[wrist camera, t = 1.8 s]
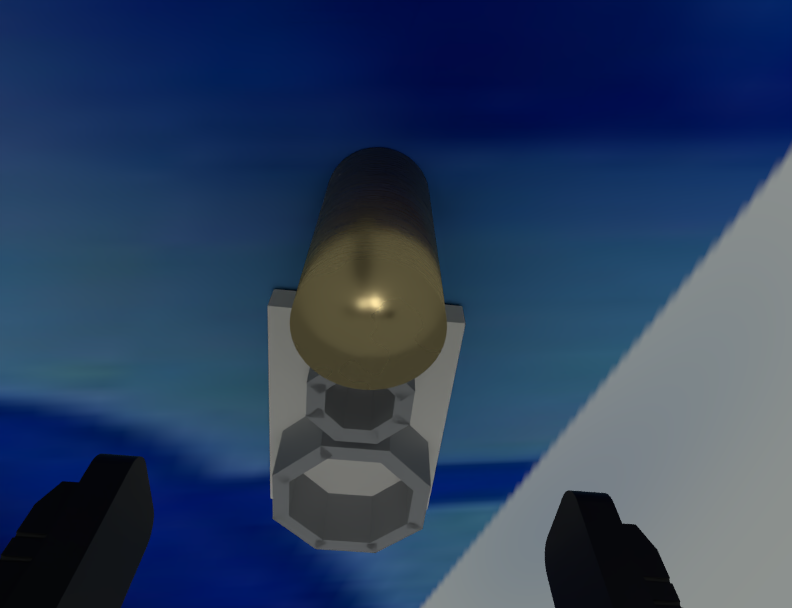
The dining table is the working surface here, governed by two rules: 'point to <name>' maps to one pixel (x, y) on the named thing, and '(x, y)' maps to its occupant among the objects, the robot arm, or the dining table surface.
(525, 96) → the dining table surface
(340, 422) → the grey mounting plate
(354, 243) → the brass cylinder
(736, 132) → the dining table surface
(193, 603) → the dining table surface
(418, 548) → the dining table surface
